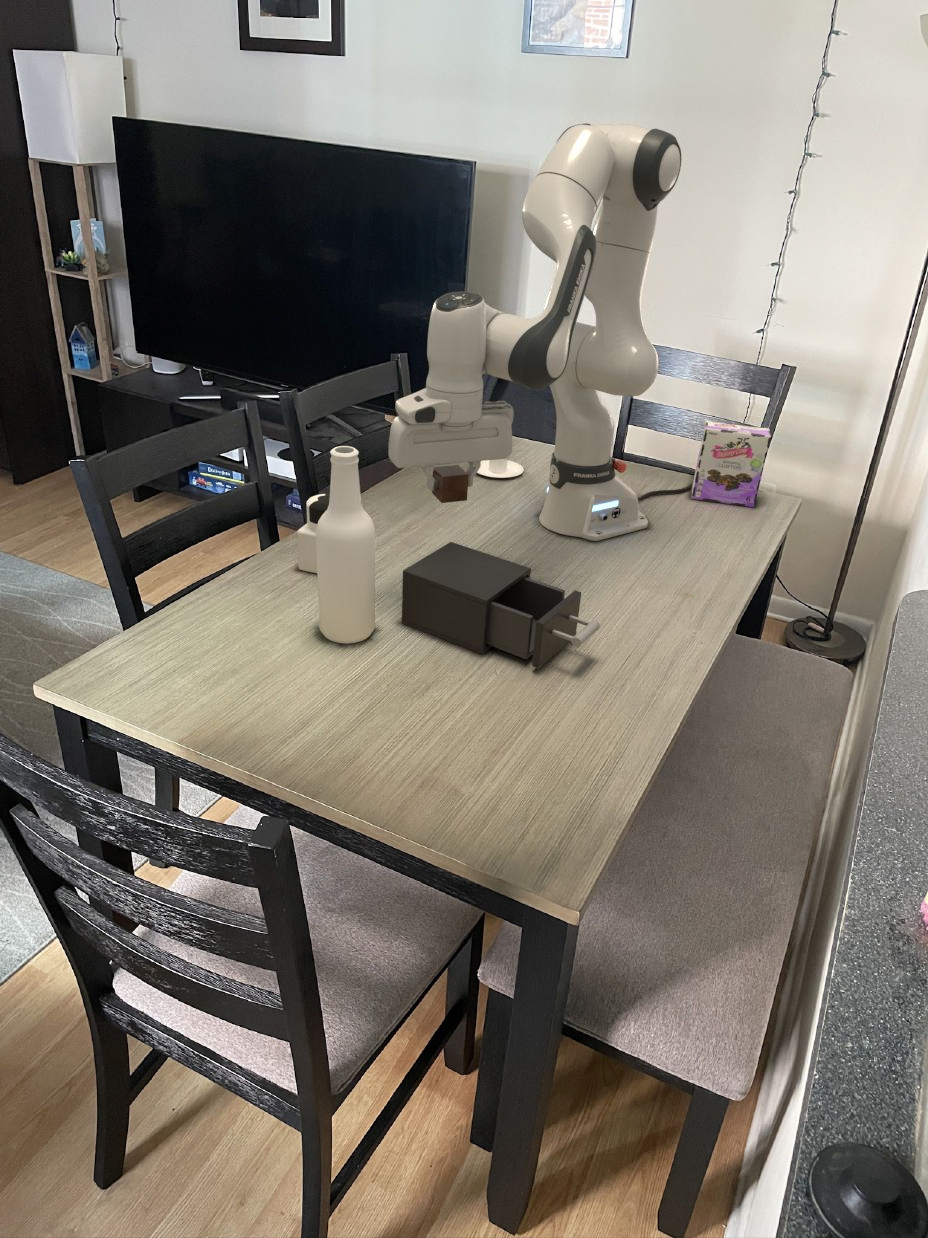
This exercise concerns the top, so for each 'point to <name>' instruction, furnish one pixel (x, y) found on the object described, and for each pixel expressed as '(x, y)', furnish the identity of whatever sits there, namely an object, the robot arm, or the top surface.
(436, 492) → the block
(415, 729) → the top surface
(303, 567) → the container
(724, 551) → the top surface
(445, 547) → the small drawer cabinet
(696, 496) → the candy box
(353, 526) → the alcohol
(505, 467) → the candle holder
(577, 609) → the pull-out drawer
